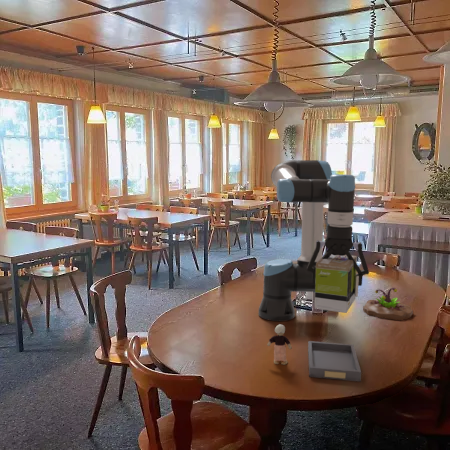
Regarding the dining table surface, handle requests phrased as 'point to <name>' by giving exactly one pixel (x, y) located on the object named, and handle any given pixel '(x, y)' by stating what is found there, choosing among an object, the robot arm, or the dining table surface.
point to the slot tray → (333, 361)
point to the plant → (387, 307)
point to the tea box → (335, 283)
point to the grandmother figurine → (280, 345)
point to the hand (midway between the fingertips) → (336, 294)
